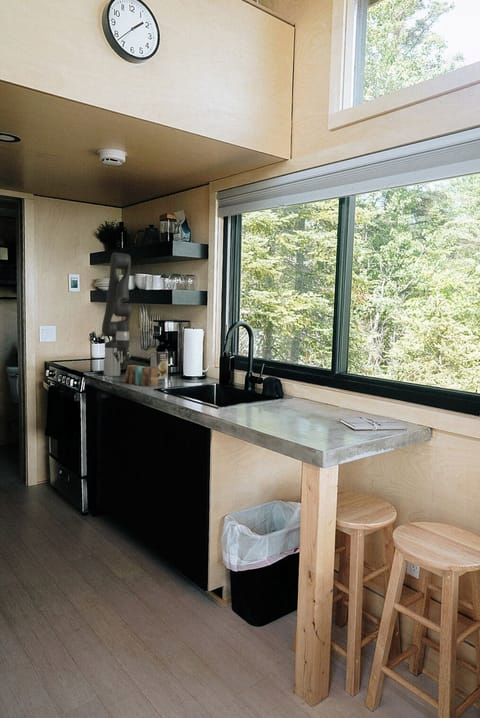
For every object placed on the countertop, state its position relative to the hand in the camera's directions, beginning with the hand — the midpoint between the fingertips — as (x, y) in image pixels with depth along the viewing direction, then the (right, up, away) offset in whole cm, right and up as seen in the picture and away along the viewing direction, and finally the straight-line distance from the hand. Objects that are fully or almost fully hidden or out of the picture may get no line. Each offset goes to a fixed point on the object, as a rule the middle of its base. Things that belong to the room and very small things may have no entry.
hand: (122, 369), depth 302 cm
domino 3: (+12, -8, -8) cm, 16 cm away
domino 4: (+16, -9, -11) cm, 21 cm away
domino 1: (+3, -7, -2) cm, 8 cm away
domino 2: (+7, -8, -5) cm, 12 cm away
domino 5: (+20, -9, -13) cm, 26 cm away
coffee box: (+18, -6, +19) cm, 27 cm away
